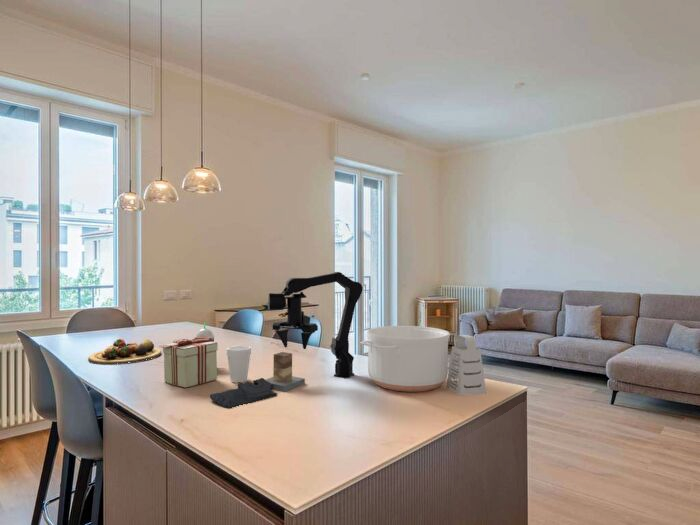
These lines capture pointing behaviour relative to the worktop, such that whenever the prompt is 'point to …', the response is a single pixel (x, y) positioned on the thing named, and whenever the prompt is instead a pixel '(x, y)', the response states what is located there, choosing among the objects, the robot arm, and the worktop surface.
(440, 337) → the pot
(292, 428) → the worktop surface
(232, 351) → the foam cup
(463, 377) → the grater
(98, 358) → the wooden plate with food
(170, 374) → the gift box
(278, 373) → the oak block
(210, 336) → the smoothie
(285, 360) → the walnut block
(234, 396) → the dark slate chunk
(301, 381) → the base
